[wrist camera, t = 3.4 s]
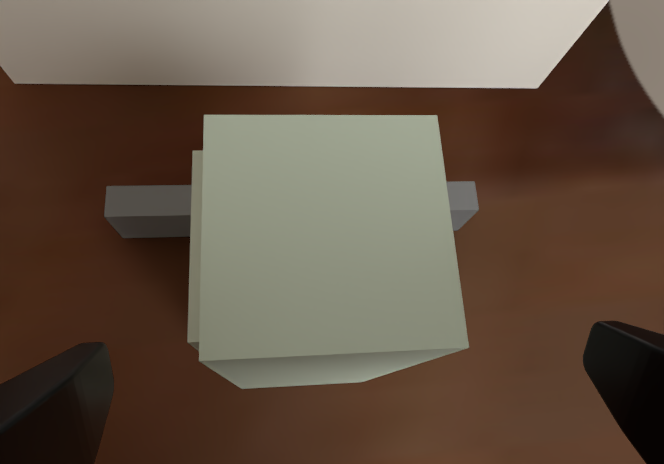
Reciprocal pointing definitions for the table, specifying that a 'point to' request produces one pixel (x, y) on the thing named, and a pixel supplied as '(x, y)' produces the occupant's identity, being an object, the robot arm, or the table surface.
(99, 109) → the table surface
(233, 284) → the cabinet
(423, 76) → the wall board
